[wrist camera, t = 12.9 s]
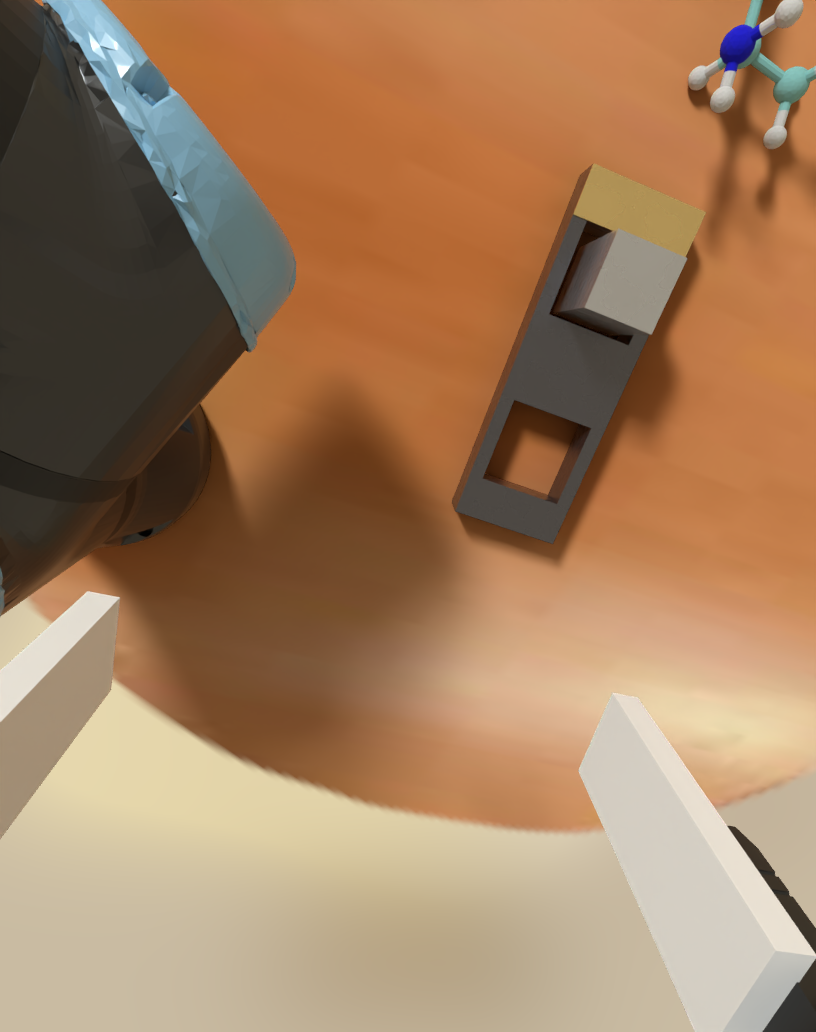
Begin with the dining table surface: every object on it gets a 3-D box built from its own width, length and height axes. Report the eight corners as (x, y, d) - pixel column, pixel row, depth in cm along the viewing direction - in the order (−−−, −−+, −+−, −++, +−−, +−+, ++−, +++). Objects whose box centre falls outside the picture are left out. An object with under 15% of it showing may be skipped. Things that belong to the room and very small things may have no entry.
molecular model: (921, 36, 32) (961, -33, 24) (754, 176, 38) (743, 156, 30) (803, -120, 32) (805, -237, 25) (656, 44, 38) (621, -9, 31)
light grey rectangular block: (552, 312, 39) (584, 307, 33) (579, 247, 38) (618, 228, 31) (608, 335, 40) (651, 334, 33) (636, 272, 39) (687, 258, 32)
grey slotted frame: (451, 501, 43) (455, 511, 41) (580, 175, 37) (593, 163, 34) (544, 533, 44) (553, 544, 42) (685, 220, 38) (706, 212, 35)
